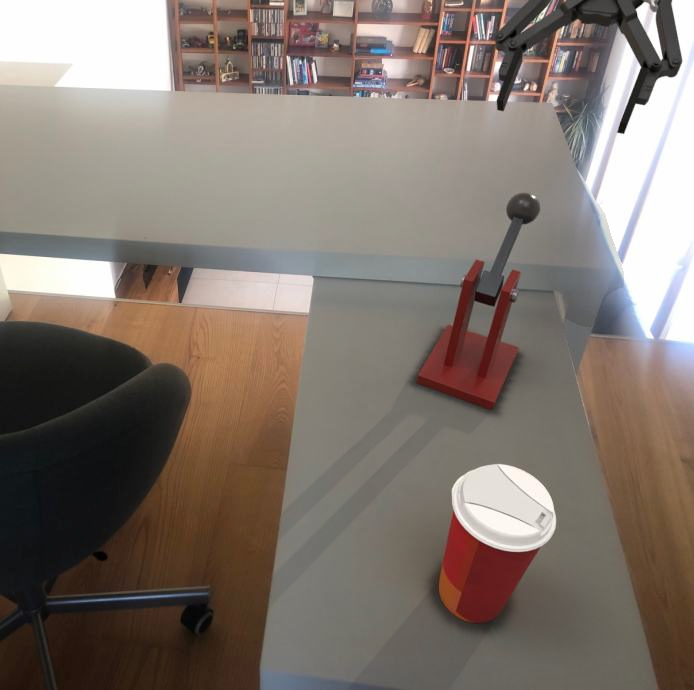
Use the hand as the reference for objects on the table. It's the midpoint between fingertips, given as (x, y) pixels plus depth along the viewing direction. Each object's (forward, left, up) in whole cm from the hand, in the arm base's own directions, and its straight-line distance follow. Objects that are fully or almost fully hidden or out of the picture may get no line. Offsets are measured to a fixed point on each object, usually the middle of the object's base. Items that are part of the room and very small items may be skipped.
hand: (558, 117), depth 81 cm
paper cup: (-17, +46, -25) cm, 55 cm away
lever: (-2, +13, -11) cm, 18 cm away
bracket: (-3, +19, -24) cm, 31 cm away
